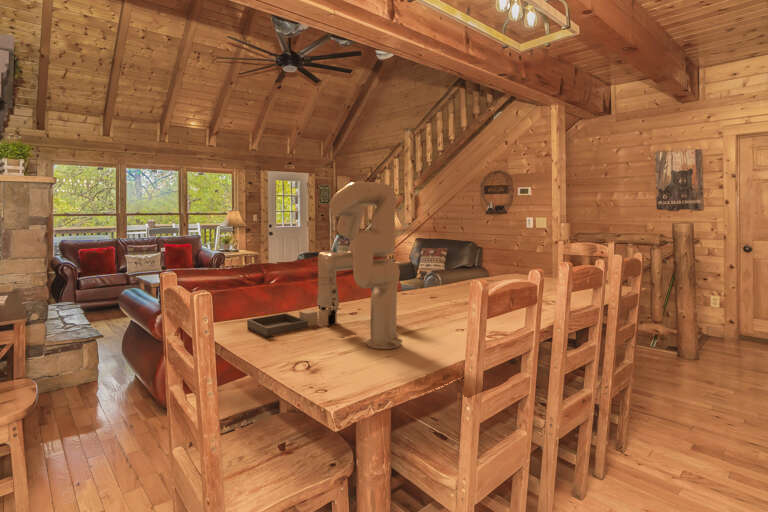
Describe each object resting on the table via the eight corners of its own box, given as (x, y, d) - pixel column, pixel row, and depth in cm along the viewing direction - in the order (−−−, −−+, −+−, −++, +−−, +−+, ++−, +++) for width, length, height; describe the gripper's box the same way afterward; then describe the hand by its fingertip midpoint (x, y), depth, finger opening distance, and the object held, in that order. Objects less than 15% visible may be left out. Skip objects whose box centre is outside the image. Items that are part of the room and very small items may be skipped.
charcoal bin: (307, 330, 184) (307, 320, 184) (267, 338, 173) (267, 328, 172) (286, 321, 198) (286, 313, 198) (247, 328, 186) (247, 319, 186)
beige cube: (317, 324, 190) (317, 311, 190) (306, 326, 187) (306, 313, 186) (310, 321, 194) (310, 309, 194) (299, 323, 191) (299, 311, 190)
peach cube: (336, 323, 192) (336, 310, 191) (325, 325, 188) (325, 312, 188) (329, 321, 196) (329, 308, 195) (318, 323, 192) (318, 310, 192)
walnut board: (342, 326, 191) (342, 324, 191) (313, 332, 182) (313, 329, 182) (323, 320, 201) (323, 317, 201) (296, 325, 192) (296, 323, 192)
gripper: (346, 282, 186) (346, 325, 188) (323, 277, 199) (323, 317, 201) (331, 284, 181) (331, 328, 183) (308, 279, 194) (309, 320, 196)
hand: (327, 322), depth 192 cm, fingers closed on peach cube, 5 cm apart
